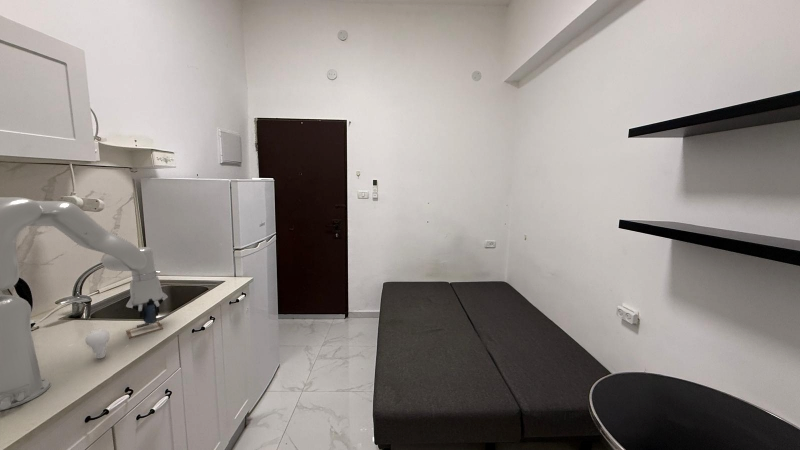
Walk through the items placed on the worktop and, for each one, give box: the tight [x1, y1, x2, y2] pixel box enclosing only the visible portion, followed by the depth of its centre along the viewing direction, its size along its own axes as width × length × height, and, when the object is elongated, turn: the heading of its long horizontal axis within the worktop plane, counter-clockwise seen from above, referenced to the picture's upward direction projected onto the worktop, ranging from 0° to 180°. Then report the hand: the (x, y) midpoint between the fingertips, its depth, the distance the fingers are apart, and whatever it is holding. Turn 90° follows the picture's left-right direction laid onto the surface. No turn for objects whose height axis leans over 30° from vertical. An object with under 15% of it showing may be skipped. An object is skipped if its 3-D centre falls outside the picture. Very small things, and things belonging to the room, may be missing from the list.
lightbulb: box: [84, 328, 110, 359], centre depth 105 cm, size 6×6×11 cm
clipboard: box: [125, 320, 164, 340], centre depth 126 cm, size 9×11×1 cm
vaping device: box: [142, 299, 158, 324], centre depth 127 cm, size 3×5×12 cm, turn 78°
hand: (149, 316), depth 127 cm, fingers closed on vaping device, 3 cm apart
